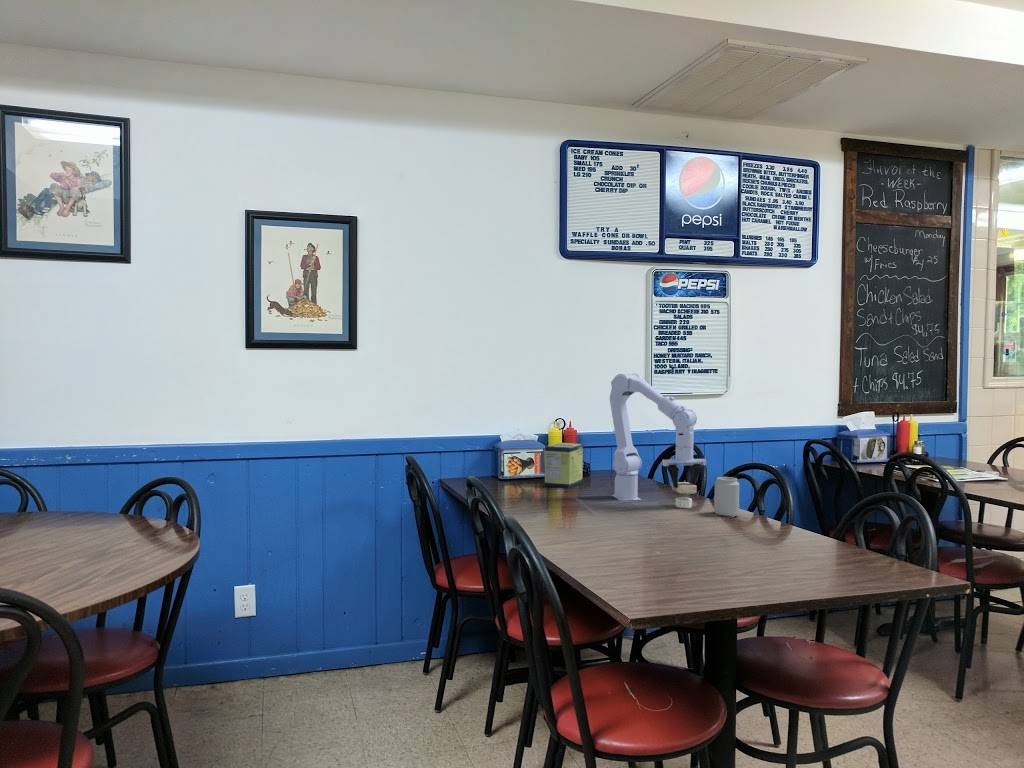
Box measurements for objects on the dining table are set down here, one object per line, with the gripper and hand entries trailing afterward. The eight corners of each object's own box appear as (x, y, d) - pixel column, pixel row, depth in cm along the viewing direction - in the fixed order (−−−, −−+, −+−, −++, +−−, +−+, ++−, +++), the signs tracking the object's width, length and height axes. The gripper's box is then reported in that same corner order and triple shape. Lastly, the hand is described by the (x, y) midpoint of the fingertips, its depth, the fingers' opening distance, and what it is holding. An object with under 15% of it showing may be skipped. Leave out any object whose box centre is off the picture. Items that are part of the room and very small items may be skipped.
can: (741, 518, 234) (742, 479, 234) (717, 517, 234) (718, 479, 234) (735, 513, 242) (735, 476, 241) (711, 512, 242) (712, 475, 241)
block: (672, 489, 252) (672, 482, 252) (687, 489, 253) (687, 482, 253) (680, 493, 245) (680, 486, 245) (696, 493, 246) (696, 486, 246)
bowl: (673, 506, 252) (673, 497, 252) (687, 506, 252) (688, 497, 252) (679, 509, 246) (679, 500, 246) (694, 509, 247) (694, 500, 247)
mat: (629, 504, 255) (629, 502, 255) (655, 503, 256) (655, 501, 256) (641, 511, 243) (641, 509, 243) (668, 510, 244) (668, 509, 244)
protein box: (582, 482, 299) (583, 443, 298) (569, 488, 285) (570, 447, 284) (558, 480, 303) (558, 442, 303) (544, 486, 289) (544, 446, 288)
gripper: (668, 448, 244) (667, 489, 244) (710, 447, 246) (709, 488, 246) (660, 445, 251) (659, 486, 251) (701, 445, 253) (700, 485, 253)
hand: (684, 487), depth 249 cm, fingers closed on block, 5 cm apart
